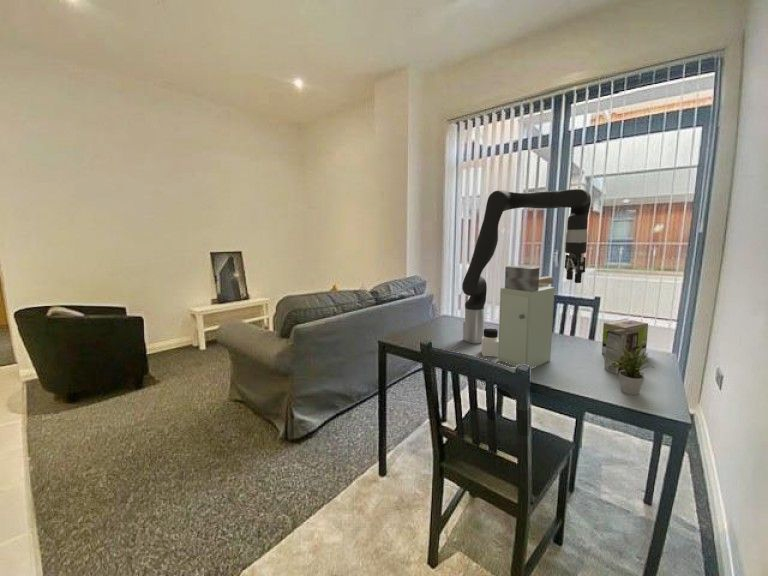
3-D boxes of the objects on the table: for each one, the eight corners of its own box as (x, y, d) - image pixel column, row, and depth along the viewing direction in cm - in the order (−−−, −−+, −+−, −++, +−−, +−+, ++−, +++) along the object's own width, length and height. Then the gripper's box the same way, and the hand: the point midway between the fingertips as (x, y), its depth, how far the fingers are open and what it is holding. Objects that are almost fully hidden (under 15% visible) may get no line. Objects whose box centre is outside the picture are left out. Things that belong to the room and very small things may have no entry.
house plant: (611, 377, 131) (615, 336, 128) (657, 389, 121) (662, 344, 119) (600, 389, 122) (603, 345, 119) (648, 403, 112) (654, 355, 109)
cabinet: (495, 361, 150) (498, 288, 144) (521, 351, 160) (524, 283, 155) (525, 371, 138) (529, 293, 133) (550, 360, 149) (554, 287, 144)
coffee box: (620, 365, 142) (624, 327, 139) (635, 371, 136) (639, 332, 133) (603, 368, 140) (606, 330, 137) (617, 374, 134) (621, 334, 131)
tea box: (623, 348, 161) (626, 317, 159) (646, 355, 152) (650, 323, 149) (600, 353, 156) (603, 321, 154) (622, 361, 147) (625, 327, 144)
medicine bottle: (499, 357, 154) (499, 331, 152) (482, 356, 155) (483, 330, 153) (497, 351, 161) (498, 326, 159) (481, 351, 162) (481, 326, 160)
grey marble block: (504, 287, 145) (505, 266, 144) (536, 281, 159) (537, 262, 157) (531, 291, 136) (532, 268, 134) (562, 284, 149) (564, 264, 148)
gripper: (559, 240, 145) (557, 278, 148) (573, 242, 131) (570, 284, 134) (578, 240, 144) (576, 278, 147) (594, 241, 130) (591, 284, 133)
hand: (573, 281), depth 141 cm, fingers open, 8 cm apart
